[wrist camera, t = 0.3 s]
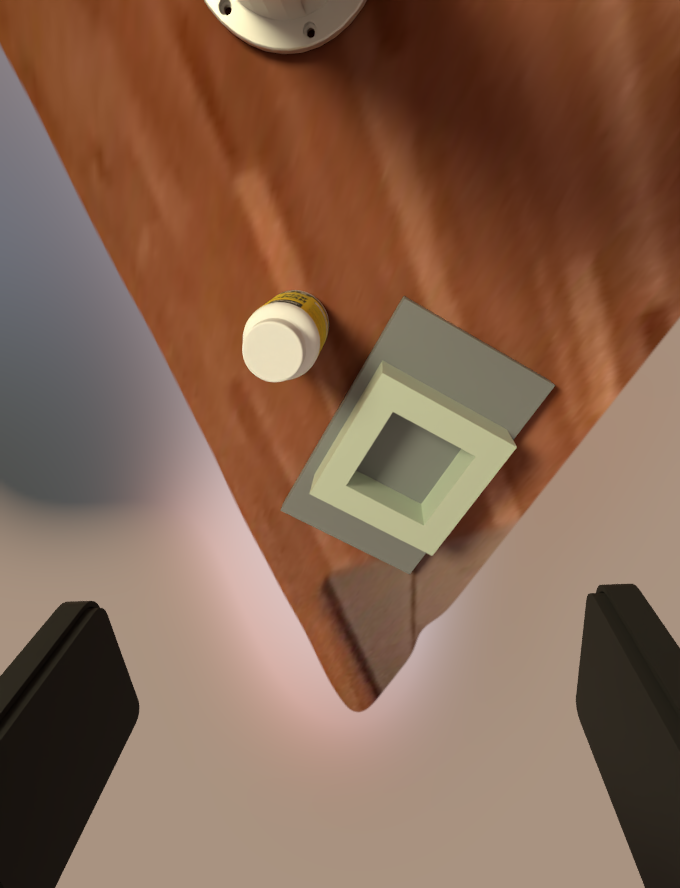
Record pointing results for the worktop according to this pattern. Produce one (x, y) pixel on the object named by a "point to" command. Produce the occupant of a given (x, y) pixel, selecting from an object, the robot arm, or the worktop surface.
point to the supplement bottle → (285, 336)
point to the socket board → (415, 438)
